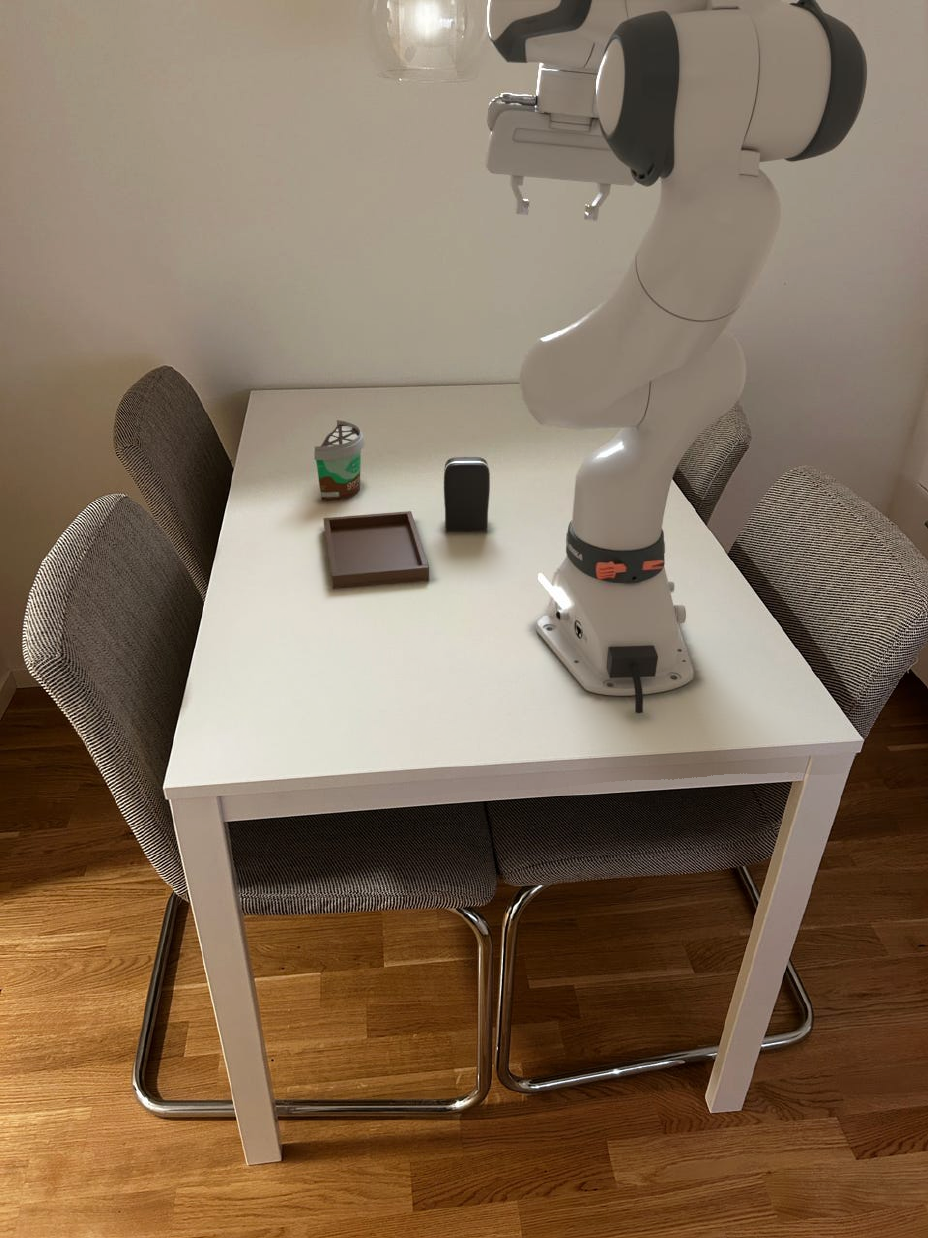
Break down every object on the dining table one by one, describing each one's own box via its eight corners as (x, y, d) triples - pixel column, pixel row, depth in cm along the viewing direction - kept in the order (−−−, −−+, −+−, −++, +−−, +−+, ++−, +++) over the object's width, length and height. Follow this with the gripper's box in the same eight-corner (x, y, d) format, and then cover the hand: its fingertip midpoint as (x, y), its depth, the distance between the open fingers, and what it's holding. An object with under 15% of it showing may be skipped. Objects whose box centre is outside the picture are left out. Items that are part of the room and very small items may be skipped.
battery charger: (487, 520, 148) (489, 453, 142) (489, 532, 145) (490, 463, 139) (443, 521, 148) (443, 453, 142) (444, 532, 145) (443, 464, 139)
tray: (429, 580, 133) (429, 567, 132) (333, 589, 131) (331, 576, 130) (411, 522, 148) (411, 510, 146) (324, 529, 145) (323, 517, 144)
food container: (354, 508, 151) (351, 450, 146) (318, 504, 152) (313, 447, 147) (376, 476, 162) (373, 421, 156) (341, 473, 163) (337, 418, 157)
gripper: (493, 91, 115) (482, 213, 122) (654, 107, 118) (634, 226, 124) (486, 90, 120) (476, 207, 127) (641, 106, 123) (623, 219, 130)
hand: (556, 216), depth 126 cm, fingers open, 8 cm apart
